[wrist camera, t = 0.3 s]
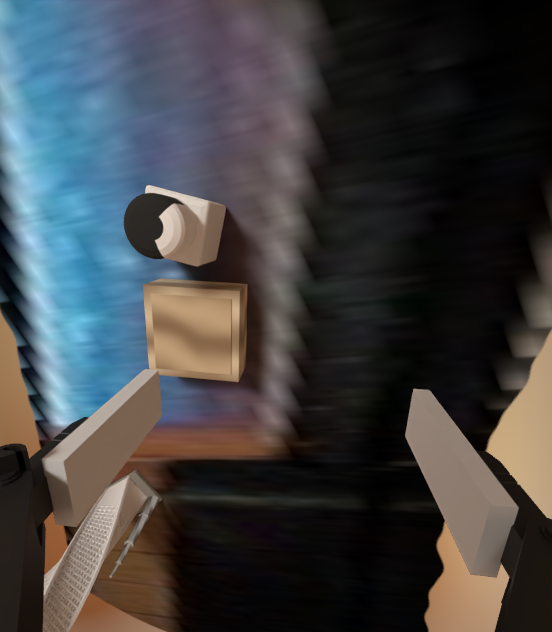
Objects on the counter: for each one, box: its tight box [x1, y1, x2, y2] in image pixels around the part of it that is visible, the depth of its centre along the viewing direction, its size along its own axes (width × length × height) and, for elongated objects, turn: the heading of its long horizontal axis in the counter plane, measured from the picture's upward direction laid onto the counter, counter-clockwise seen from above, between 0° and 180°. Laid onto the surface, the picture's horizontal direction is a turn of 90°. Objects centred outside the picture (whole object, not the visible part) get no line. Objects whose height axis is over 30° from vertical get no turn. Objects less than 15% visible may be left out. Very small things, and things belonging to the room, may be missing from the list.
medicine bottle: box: [124, 185, 226, 267], centre depth 34 cm, size 7×7×12 cm
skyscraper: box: [43, 470, 162, 632], centre depth 40 cm, size 8×8×28 cm
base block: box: [143, 278, 248, 382], centre depth 41 cm, size 12×12×5 cm
